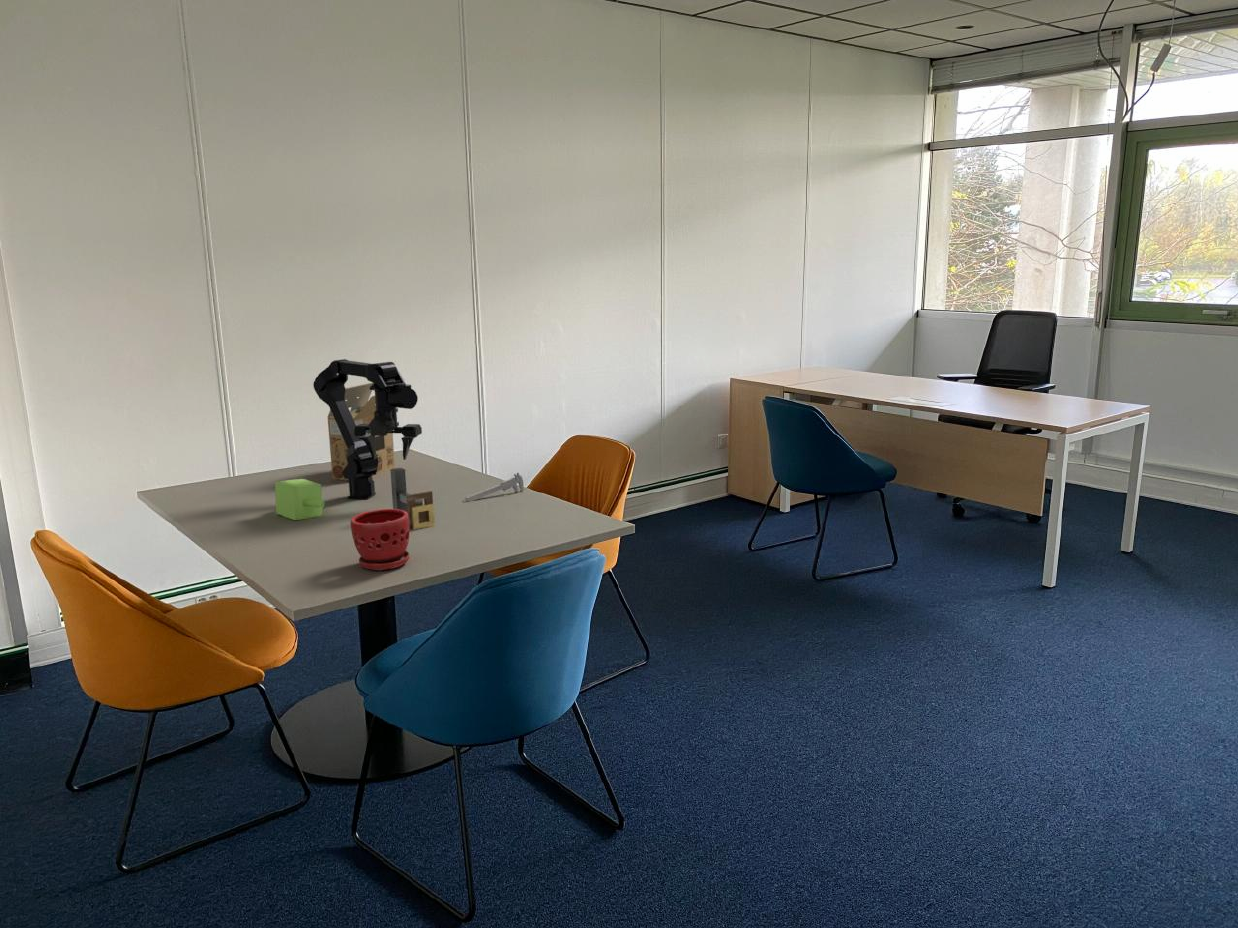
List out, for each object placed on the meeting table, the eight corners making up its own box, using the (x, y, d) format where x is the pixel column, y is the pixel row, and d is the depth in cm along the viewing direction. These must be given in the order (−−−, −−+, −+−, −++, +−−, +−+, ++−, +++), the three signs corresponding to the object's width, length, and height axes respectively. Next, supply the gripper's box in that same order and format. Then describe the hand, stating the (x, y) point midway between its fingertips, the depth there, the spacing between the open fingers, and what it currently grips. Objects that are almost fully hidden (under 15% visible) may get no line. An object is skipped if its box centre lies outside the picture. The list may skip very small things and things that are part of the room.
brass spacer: (412, 528, 247) (410, 506, 246) (432, 524, 250) (431, 503, 249) (414, 529, 246) (412, 507, 245) (434, 525, 250) (433, 504, 248)
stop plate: (404, 525, 250) (402, 493, 248) (428, 521, 254) (426, 489, 252) (410, 528, 247) (407, 495, 245) (434, 523, 251) (432, 491, 249)
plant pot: (393, 552, 227) (390, 504, 224) (422, 564, 218) (419, 515, 215) (344, 564, 218) (340, 515, 216) (371, 577, 209) (367, 526, 206)
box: (378, 483, 298) (371, 390, 292) (326, 478, 305) (319, 387, 298) (413, 469, 317) (408, 381, 311) (364, 465, 324) (357, 379, 317)
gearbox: (336, 518, 259) (335, 485, 258) (303, 524, 252) (302, 490, 250) (303, 506, 271) (302, 474, 270) (271, 512, 264) (270, 479, 262)
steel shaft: (393, 514, 260) (390, 469, 257) (403, 512, 261) (400, 467, 259) (415, 525, 249) (412, 478, 246) (425, 523, 250) (422, 476, 248)
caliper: (522, 491, 286) (521, 471, 284) (523, 492, 285) (523, 472, 284) (462, 502, 274) (461, 481, 273) (464, 503, 273) (462, 482, 272)
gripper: (343, 410, 261) (347, 464, 264) (407, 411, 258) (410, 465, 262) (359, 404, 272) (363, 456, 275) (420, 404, 269) (424, 457, 273)
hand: (389, 459), depth 271 cm, fingers open, 9 cm apart
